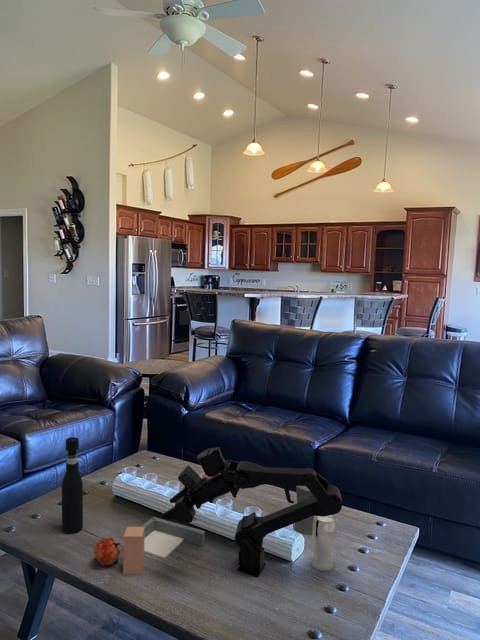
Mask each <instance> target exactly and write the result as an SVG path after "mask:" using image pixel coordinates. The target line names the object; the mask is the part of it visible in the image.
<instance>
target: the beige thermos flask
mask: <svg viewBox="0 0 480 640" xmlns="http://www.w3.org/2000/svg"><path fill="white" fill-rule="evenodd" d="M337 523H338V522H337V516H336V514H334V515H330V516H325V517H323V516H314V518H313V526H312V534H311V536H312V545H313V557H312V560H311V565H312V567H313V568H314V569H316V570H317V571H320V572H328V571H331V570H332V569H333V567H334V564H333V563H334V562H333V552H334V548H335V547H334V546H335V543H336V538H337Z"/></svg>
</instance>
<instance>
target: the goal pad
mask: <svg viewBox="0 0 480 640" xmlns="http://www.w3.org/2000/svg"><path fill="white" fill-rule="evenodd" d="M183 542H185V541H184V539H183V538H180V537H176V536H173V535H169V534H166V533H163V532H159V531H156V530H154V531H153V532H152V533H151V534H149V535H148V536H147V537H146V538H145V539H144V554H147V555H150V556H153V557H156V558H161V559H163V560H166V559H167V558H168V557H169V556H170V555H171V554H172V553H173V552H174V551H175V550H176V549H177V548H178V547H179V546H181V544H182V543H183Z"/></svg>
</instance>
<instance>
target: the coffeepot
mask: <svg viewBox="0 0 480 640" xmlns="http://www.w3.org/2000/svg"><path fill="white" fill-rule="evenodd" d="M291 486H292V485H290V487H291ZM282 487H283V490H284V494H285V499H286V501H287V503H289V504H292V505H294V504H295V501H294V500H292V499H291V494H290V493H291V492H290V488H289V485H282ZM292 487H295V492H296V493H295V494H296V503H299V502H301V501H304V500H306V499H308V498H309V497H310V496H311V495H312V493H311V491H310V490H309V489H308V488H307V487H306V486H292ZM313 518H314V516H312V517H309V518H307V519H304V520H302V521H299V522H297V523H295V528H294V530H295V531H296V532H298V531H299V532H298V533H300V534H304V535H312V526H313Z"/></svg>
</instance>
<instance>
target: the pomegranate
mask: <svg viewBox="0 0 480 640" xmlns="http://www.w3.org/2000/svg"><path fill="white" fill-rule="evenodd" d="M120 545H122V543H121V542H117V540H116V539H115V538H114V537H104V538H101V539H100V540H98V541H97V543H96V544H95V545H94V547H93V553H94V555H95V558H93V559H94V561H96V560H97V561H98V562H99V563H100V564H101V565H102V566H110V565H113V564H114V563H116V561H117V560H118V559H119V557H120V555H121V551H122V548H121V546H120Z"/></svg>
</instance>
